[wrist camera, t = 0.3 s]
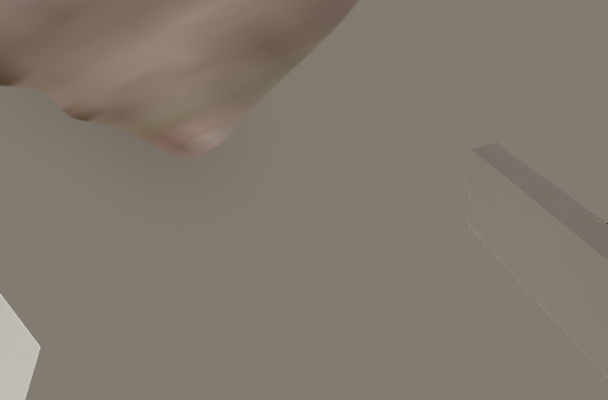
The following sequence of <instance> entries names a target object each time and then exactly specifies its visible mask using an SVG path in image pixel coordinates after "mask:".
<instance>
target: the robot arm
mask: <svg viewBox="0 0 608 400" xmlns="http://www.w3.org/2000/svg"><path fill="white" fill-rule="evenodd" d="M467 216H468V217H467V226H468V227H469V228H470V229H471V231H472V232H473V233H474V234H475V235H476V236H477V237H478V238H479V239H480V240H481V241H482V242H483V244H484V245H485V246H486V247H487V248H488V249H489V250H490V251H491V252H492V253H493V255H494V256H495V257H496V258H497V259H498V260H499V261H500V262H501V263H502V264H503V265H504V267H505V268H506V269H507V270H508V271H509V272H510V273H511V274H512V275H513V276H514V277H515V279H516V280H517V281H518V282H519V283H520V284H521V285H522V286H523V287H524V288H525V289H526V290H527V292H528V293H529V294H530V295H531V296H532V297H533V298H534V299H535V300H536V301H537V302H538V304H539V305H540V306H541V307H542V308H543V309H544V310H545V311H546V312H547V313H548V315H549V316H550V317H551V318H552V319H553V320H554V321H555V322H556V323H557V324H558V325H559V327H560V328H561V329H562V330H563V331H564V332H565V333H566V334H567V335H568V336H569V337H570V339H571V340H572V341H573V342H574V343H575V344H576V345H577V346H578V347H579V348H580V349H581V350H582V352H583V353H584V354H585V355H586V356H587V357H588V358H589V359H590V360H591V361H592V363H593V364H594V365H595V366H596V367H597V368H598V369H599V370H600V371H601V372H602V373H603V374H604V376H605V377H606V378H607V379H608V223H605V222H604V221H602V220H601V219H600V218H598V217H597V216H596V215H594V214H593V213H592V212H590V211H589V210H588V209H586V208H585V207H583V206H582V205H581V204H579V203H578V202H577V201H575V200H574V199H573V198H571V197H570V196H568V195H567V194H566V193H564V192H563V191H562V190H560V189H559V188H558V187H556V186H555V185H554V184H552V183H551V182H549V181H548V180H547V179H545V178H544V177H543V176H541V175H540V174H538V173H537V172H536V171H535V170H533V169H532V168H530V167H529V166H528V165H526V164H525V163H524V162H522V161H521V160H519V159H518V158H517V157H516V156H514V155H513V154H511V153H510V152H509V151H507V150H506V149H505V148H503V147H502V146H501V145H499V144H498V143H493V144H489V145H486V146H482V147H478V148H474V149H472V153H471V168H470V184H469V199H468V215H467ZM39 351H40V346H39V344H38V343H37V342H36V340H35V339H34V338H33V336H32V335H31V334H30V332H29V331H28V330H27V328H26V327H25V326H24V324H23V323H22V322H21V320H20V319H19V318H18V316H17V315H16V314H15V312H14V311H13V310H12V308H11V307H10V306H9V304H8V303H7V302H6V300H5V299H4V298H3V297H2V295H1V294H0V400H25V398H26V395H27V392H28V388H29V385H30V381H31V378H32V375H33V371H34V368H35V364H36V361H37V358H38V354H39Z"/></svg>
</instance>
